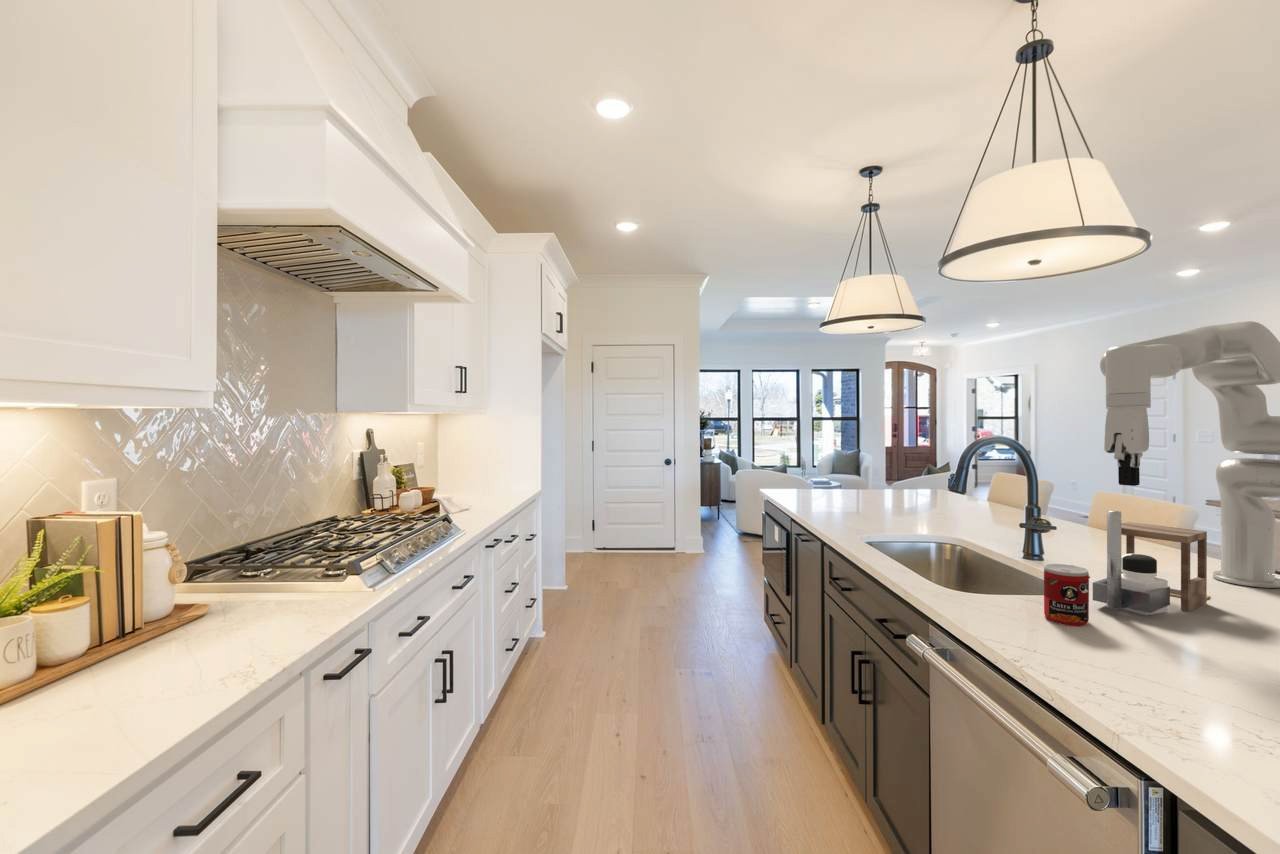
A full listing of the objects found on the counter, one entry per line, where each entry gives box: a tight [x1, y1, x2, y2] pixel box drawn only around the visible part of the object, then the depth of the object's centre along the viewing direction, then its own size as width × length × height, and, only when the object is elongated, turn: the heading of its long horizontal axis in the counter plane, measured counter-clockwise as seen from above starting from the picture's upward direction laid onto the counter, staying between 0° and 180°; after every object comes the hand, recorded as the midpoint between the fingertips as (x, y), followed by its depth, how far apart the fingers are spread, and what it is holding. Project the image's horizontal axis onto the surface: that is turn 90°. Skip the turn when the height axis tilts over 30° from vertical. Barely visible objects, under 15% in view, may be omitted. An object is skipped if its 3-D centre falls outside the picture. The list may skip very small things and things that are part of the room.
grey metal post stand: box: [1092, 510, 1171, 613], centre depth 127 cm, size 14×10×21 cm
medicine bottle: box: [1121, 553, 1169, 616], centre depth 128 cm, size 7×7×12 cm
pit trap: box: [1170, 587, 1212, 600], centre depth 139 cm, size 6×12×1 cm, turn 30°
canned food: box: [1043, 563, 1090, 627], centre depth 122 cm, size 8×8×11 cm
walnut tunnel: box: [1121, 521, 1208, 613], centre depth 134 cm, size 11×14×16 cm
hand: (1129, 484), depth 127 cm, fingers closed
